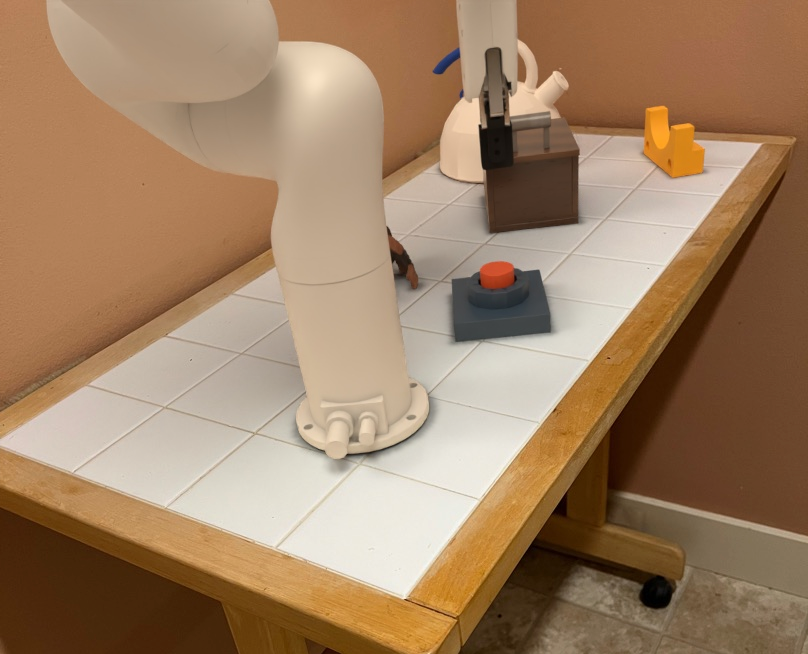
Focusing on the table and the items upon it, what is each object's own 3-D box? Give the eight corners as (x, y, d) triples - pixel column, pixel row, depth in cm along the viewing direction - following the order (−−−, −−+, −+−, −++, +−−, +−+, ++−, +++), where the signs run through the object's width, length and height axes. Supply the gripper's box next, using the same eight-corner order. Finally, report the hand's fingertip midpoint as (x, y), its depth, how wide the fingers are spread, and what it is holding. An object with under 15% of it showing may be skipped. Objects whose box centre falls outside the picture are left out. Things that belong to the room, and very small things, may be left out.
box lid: (579, 155, 100) (580, 112, 97) (485, 167, 101) (483, 125, 98) (564, 123, 111) (564, 83, 108) (480, 133, 112) (477, 95, 109)
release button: (515, 288, 85) (515, 273, 84) (481, 292, 86) (480, 277, 85) (513, 274, 88) (512, 259, 87) (480, 278, 89) (478, 263, 88)
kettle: (556, 182, 119) (555, 45, 107) (423, 185, 125) (408, 56, 114) (579, 139, 133) (580, 14, 122) (458, 143, 140) (448, 25, 129)
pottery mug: (423, 303, 95) (381, 254, 89) (359, 335, 99) (316, 291, 94) (425, 238, 102) (386, 190, 96) (366, 272, 106) (325, 228, 101)
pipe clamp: (702, 172, 114) (707, 124, 110) (672, 177, 114) (676, 129, 110) (671, 148, 124) (674, 103, 120) (643, 153, 124) (646, 108, 120)
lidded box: (578, 223, 106) (578, 153, 101) (489, 233, 107) (485, 165, 102) (565, 187, 117) (564, 123, 111) (484, 197, 118) (480, 134, 112)
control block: (550, 332, 84) (550, 297, 82) (455, 342, 86) (451, 308, 83) (539, 287, 93) (539, 254, 91) (453, 296, 94) (450, 263, 92)
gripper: (440, -52, 77) (458, 148, 88) (443, -30, 65) (463, 196, 77) (520, -64, 76) (527, 139, 88) (536, -45, 64) (542, 186, 76)
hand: (497, 165), depth 82 cm, fingers closed
